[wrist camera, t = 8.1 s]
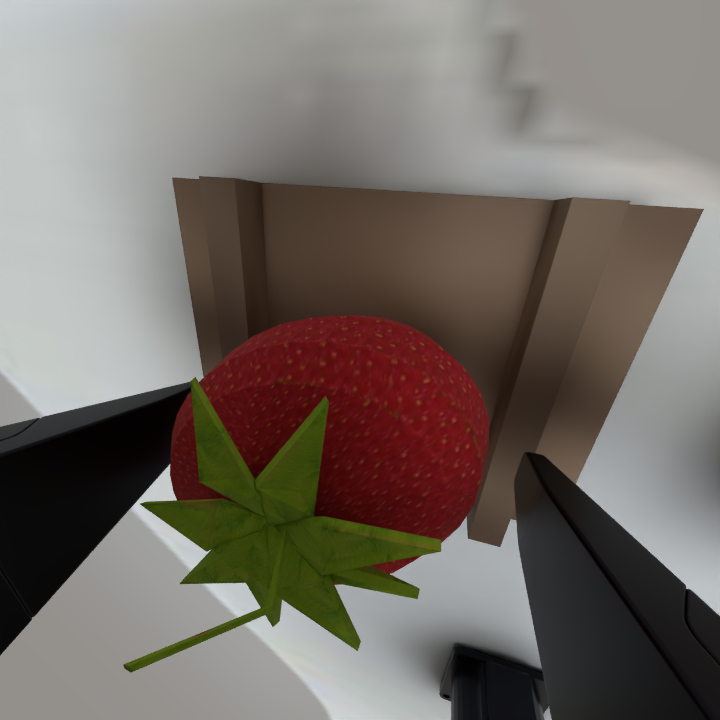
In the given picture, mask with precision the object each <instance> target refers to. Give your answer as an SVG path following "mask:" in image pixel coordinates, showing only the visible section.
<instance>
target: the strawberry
mask: <svg viewBox="0 0 720 720" xmlns="http://www.w3.org/2000/svg"><path fill="white" fill-rule="evenodd" d="M190 382H191V392H190V393H189V394H188V396H187V397H186V399H185V401H184V403H183V404H182V406H181V408H180V410H179V411H178V413H177V417H176V420H175V424H174V428H173V431H172V442H171V463H170V476H171V481H172V486H173V491H174V494H175V496H176V498H177V501H155V502H144V503H141V504H140V505H142V506H143V507H145V508H146V509H147V510H149V511H150V512H152V513H153V514H155V515H156V516H157V517H159V518H160V519H162V520H163V521H164V522H166V523H167V524H169V525H170V526H171V527H173V528H174V529H176V530H177V531H178V532H180V533H181V534H183V535H184V536H185V537H187V538H188V539H190V540H191V541H192V542H194V543H195V544H197V545H198V546H199V547H201V548H202V549H204V550H205V551H206V552H207V551H209V550H211V549H212V550H211V551H210V552H209V553H208V554H207V555H206V556H205V557H204V558H203V559H202V560H201V561H200V562H199V564H198V565H197V566H196V567H195V568H194V569H193V570H192V571H191V572H190V573H189V574H188V575H187V576H186V577H185V578H184V579H183V581H182V582H181V583H180V584H203V583H246V584H247V585H248V587H249V589H250V590H251V592H252V594H253V595H254V597H255V599H256V600H257V602H258V603H259V605H260V607H261V609H258V610H256V611H253V612H251V613H248V614H246V615H243V616H241V617H239V618H236V619H234V620H231V621H229V622H226V623H224V624H221V625H219V626H217V627H214V628H212V629H209V630H207V631H204V632H202V633H200V634H197V635H195V636H192V637H190V638H188V639H185V640H183V641H180V642H178V643H175V644H173V645H170V646H168V647H165V648H163V649H161V650H158V651H156V652H153V653H151V654H148V655H146V656H143V657H141V658H139V659H136V660H134V661H131V662H129V663H126V664H124V668H125V669H126V670H128V671H129V672H133V671H136V670H138V669H140V668H143V667H145V666H147V665H150V664H152V663H154V662H156V661H159V660H161V659H163V658H166V657H168V656H171V655H173V654H175V653H178V652H180V651H182V650H184V649H187V648H189V647H192V646H194V645H196V644H198V643H201V642H203V641H205V640H208V639H210V638H212V637H215V636H217V635H219V634H222V633H224V632H226V631H229V630H231V629H233V628H236V627H238V626H240V625H243V624H245V623H247V622H250V621H252V620H254V619H257V618H259V617H261V616H264V615H266V617H267V618H268V620H269V622H270V623H271V625H272V627H274V626H275V625H276V624H277V623H278V622H279V621H280V612H281V603H282V600H284V601H285V602H287V603H288V604H290V605H291V606H293V607H294V608H296V609H297V610H299V611H300V612H301V613H303V614H304V615H306V616H307V617H309V618H310V619H312V620H313V621H315V622H316V623H317V624H319V625H320V626H322V627H323V628H325V629H326V630H328V631H329V632H331V633H332V634H334V635H335V636H336V637H338V638H339V639H341V640H342V641H344V642H345V643H347V644H348V645H350V646H351V647H353V648H354V649H355V650H357V651H358V648H359V645H360V642H361V641H360V639H359V636H358V634H357V632H356V630H355V628H354V626H353V624H352V622H351V619H350V617H349V615H348V613H347V611H346V609H345V607H344V605H343V602H342V600H341V598H340V596H339V594H338V592H337V590H336V588H335V586H334V585H338V584H344V585H349V586H354V587H359V588H364V589H369V590H375V591H380V592H385V593H390V594H395V595H400V596H405V597H410V598H416V599H418V594H419V588H417V587H415V586H413V585H411V584H409V583H406V582H404V581H402V580H400V579H398V578H396V577H394V576H392V575H390V573H393V572H395V571H397V570H399V569H400V568H402V567H404V566H406V565H407V564H409V563H411V562H413V561H414V560H416V559H417V558H419V557H420V556H422V555H425V554H430V553H436V552H441V543H442V542H443V541H444V540H445V539H446V538H447V537H448V536H450V535H451V534H452V533H453V532H454V531H455V530H456V529H457V528H458V527H459V526H460V525H461V523H462V522H463V520H464V519H465V517H466V516H467V515H468V513H469V512H470V510H471V509H472V507H473V505H474V502H475V499H476V496H477V492H478V489H479V486H480V483H481V479H482V474H483V470H484V465H485V461H486V456H487V452H488V447H489V417H488V414H487V411H486V407H485V404H484V401H483V397H482V394H481V392H480V391H479V389H478V388H477V386H476V384H475V383H474V381H473V380H472V378H471V377H470V375H469V374H468V372H467V371H466V369H465V368H464V367H463V366H462V365H461V364H459V363H458V362H457V361H456V360H455V359H454V358H453V357H452V356H451V355H450V354H449V353H447V352H446V351H445V350H444V349H443V348H442V347H441V346H440V345H439V344H437V343H436V342H435V341H434V340H433V339H432V338H431V337H429V336H428V335H426V334H424V333H422V332H420V331H419V330H417V329H415V328H413V327H412V326H410V325H407V324H403V323H400V322H397V321H394V320H391V319H388V318H381V317H372V316H364V315H343V316H327V317H312V318H307V319H302V320H298V321H293V322H288V323H283V324H280V325H278V326H275V327H273V328H271V329H268V330H266V331H264V332H261V333H259V334H257V335H255V336H253V337H252V338H250V339H249V340H247V341H246V342H244V343H243V344H241V345H240V346H239V347H237V348H236V349H234V350H233V351H232V352H231V353H229V354H228V355H227V356H226V357H225V358H224V359H223V360H222V361H221V362H220V363H219V364H218V365H217V366H216V367H214V368H213V369H212V370H211V371H210V372H209V373H208V374H207V375H206V376H205V377H204V378H203V379H202V380H201V381H200V382H198V381H197V379H196V377H195V378H194V379H193V380H192V381H190Z"/></svg>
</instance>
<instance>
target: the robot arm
mask: <svg viewBox="0 0 720 720" xmlns="http://www.w3.org/2000/svg"><path fill="white" fill-rule="evenodd" d="M190 392H191V382H187V383H183V384H179V385H175V386H171V387H166V388H162V389H158V390H154V391H150V392H145V393H141V394H137V395H133V396H129V397H124V398H120V399H116V400H112V401H108V402H103V403H99V404H95V405H91V406H87V407H82V408H78V409H74V410H70V411H66V412H61V413H57V414H53V415H49V416H45V417H42V418H36V419H32V420H28V421H23V422H19V423H15V424H11V425H6V426H2V427H0V655H1V654H2V653H3V651H5V649H6V648H7V647H8V646H9V645H10V644H11V643H12V642H13V640H14V639H15V638H16V637H17V636H18V635H19V633H21V631H22V630H23V629H24V628H25V627H26V626H27V625H28V624H29V622H30V621H31V620H32V617H34V616H35V615H36V614H37V613H38V612H39V611H40V609H41V608H42V607H43V606H44V605H45V604H46V603H47V602H48V601H49V599H50V598H51V597H52V596H53V595H54V594H55V593H56V591H57V590H58V589H59V588H60V587H61V586H62V585H63V584H64V582H65V581H66V580H67V579H68V578H69V577H70V576H71V575H72V574H73V572H74V571H75V570H76V569H77V568H78V567H79V565H80V564H81V563H82V562H83V561H84V560H85V559H86V558H87V557H88V556H89V554H90V553H91V552H92V551H93V550H94V549H95V548H96V547H97V545H98V544H99V543H100V542H101V541H102V540H103V539H104V538H105V536H106V535H107V534H108V533H109V532H110V531H111V530H112V529H113V527H114V526H115V525H116V524H117V523H118V521H120V519H121V518H122V517H123V516H124V515H125V514H126V513H127V512H128V511H129V509H130V508H131V507H132V506H133V505H134V504H135V503H136V502H137V500H138V499H139V498H140V497H141V496H142V495H143V494H144V493H145V491H146V490H147V489H148V488H149V487H150V486H151V485H152V484H153V482H154V481H155V480H156V479H157V478H158V477H159V476H160V475H161V473H162V472H163V471H164V470H165V469H166V468H167V467H168V466H169V464H170V463H171V442H172V431H173V428H174V424H175V420H176V417H177V413H178V411H179V410H180V408H181V406H182V404H183V403H184V401H185V399H186V397H187V396H188V394H189V393H190ZM514 494H515V507H516V521H517V535H518V545H519V552H520V557H521V563H522V568H523V573H524V578H525V583H526V589H527V594H528V599H529V604H530V609H531V615H532V620H533V625H534V630H535V635H536V640H537V646H538V651H539V656H540V661H541V666H542V672H543V674H542V673H539V672H536V671H533V670H530V669H527V668H524V667H521V666H518V665H515V664H512V663H509V662H506V661H503V660H500V659H497V658H494V657H491V656H488V655H485V654H482V653H479V652H476V651H473V650H470V649H467V648H464V647H460V646H456V647H454V648H453V651H452V654H451V657H450V659H449V662H448V665H447V668H446V671H445V674H444V676H443V679H442V682H441V685H440V696H441V697H442V698H443V699H446V700H448V701H451V720H544V716H543V714H544V712H545V711H546V709H547V708H548V706H549V708H550V713H551V718H552V720H720V616H719V615H718V614H717V613H716V612H715V611H713V610H712V609H711V608H710V607H709V606H708V605H707V604H706V603H705V602H704V601H703V600H701V599H700V598H699V597H698V596H697V595H696V594H695V593H694V592H693V591H692V590H690V589H686V585H685V584H684V583H683V582H682V581H681V580H680V579H678V578H677V577H676V576H675V575H674V574H673V573H672V572H671V571H670V570H669V569H668V568H666V567H665V566H664V565H663V564H662V563H661V562H660V561H659V560H658V559H657V558H656V557H654V556H653V555H652V554H651V553H650V552H649V551H648V550H647V549H646V548H645V547H644V546H642V545H641V544H640V543H639V542H638V541H637V540H636V539H635V538H634V537H633V536H632V535H630V534H629V533H628V532H627V531H626V530H625V529H624V528H623V527H622V526H621V525H620V524H618V523H617V522H616V521H615V520H614V519H613V518H612V517H611V516H610V515H609V514H608V513H606V512H605V511H604V510H603V509H602V508H601V507H600V506H599V505H598V504H597V503H596V502H594V501H593V500H592V499H591V498H590V497H589V496H588V495H587V494H586V493H585V492H584V491H582V490H581V489H580V488H579V487H578V486H577V485H576V484H575V483H574V482H573V481H572V480H570V479H569V478H568V477H567V476H566V475H565V474H564V473H563V472H562V471H561V470H560V469H558V468H557V467H556V466H555V465H554V464H553V463H552V462H551V461H550V460H549V459H548V458H546V457H545V456H544V455H542V454H537V453H532V452H525V453H524V454H523V456H522V458H521V461H520V464H519V467H518V469H517V472H516V475H515V479H514Z"/></svg>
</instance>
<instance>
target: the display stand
mask: <svg viewBox="0 0 720 720" xmlns="http://www.w3.org/2000/svg"><path fill="white" fill-rule="evenodd" d="M172 179H173V186H174V192H175V198H176V205H177V211H178V217H179V224H180V230H181V236H182V243H183V249H184V255H185V262H186V268H187V274H188V281H189V287H190V293H191V300H192V306H193V312H194V319H195V325H196V332H197V338H198V344H199V351H200V357H201V363H202V370H203V376H204V377H205V376H206V375H207V374H208V373H209V372H210V371H211V370H212V369H213V368H214V367H216V366H217V365H218V364H219V363H220V362H221V361H222V360H223V359H224V358H225V357H226V356H227V355H228V354H229V353H231V352H232V351H233V350H234V349H236V348H237V347H239V346H240V345H241V344H243V343H244V342H246V341H247V340H249V339H250V338H252V337H253V336H255V335H257V334H259V333H261V332H264V331H266V330H268V329H271V328H273V327H275V326H278V325H280V324H283V323H288V322H293V321H298V320H302V319H307V318H312V317H327V316H343V315H364V316H372V317H381V318H388V319H391V320H394V321H397V322H400V323H403V324H407V325H410V326H412V327H413V328H415V329H417V330H419V331H420V332H422V333H424V334H426V335H428V336H429V337H431V338H432V339H433V340H434V341H435V342H436V343H437V344H439V345H440V346H441V347H442V348H443V349H444V350H445V351H446V352H447V353H449V354H450V355H451V356H452V357H453V358H454V359H455V360H456V361H457V362H458V363H459V364H461V365H462V366H463V367H464V368H465V369H466V371H467V372H468V374H469V375H470V377H471V378H472V380H473V381H474V383H475V384H476V386H477V388H478V389H479V391H480V392H481V394H482V397H483V401H484V404H485V407H486V411H487V414H488V417H489V447H488V452H487V456H486V461H485V465H484V470H483V474H482V479H481V483H480V486H479V489H478V492H477V496H476V499H475V502H474V505H473V507H472V509H471V510H470V512H469V513H468V515H467V530H468V539H472V540H476V541H480V542H483V543H487V544H491V545H495V546H498V547H500V546H501V543H502V540H503V538H504V535H505V532H506V530H507V527H508V524H509V522H510V519H513V520H516V507H515V494H514V479H515V475H516V472H517V469H518V467H519V464H520V461H521V458H522V456H523V454H524V453H525V452H532V453H537V454H542V455H544V456H545V457H546V458H548V459H549V460H550V461H551V462H552V463H553V464H554V465H555V466H556V467H557V468H558V469H560V470H561V471H562V472H563V473H564V474H565V475H566V476H567V477H568V478H569V479H570V480H572V481H573V482H574V483H575V484H576V482H577V479H578V477H579V475H580V473H581V471H582V469H583V467H584V464H585V462H586V460H587V458H588V456H589V454H590V452H591V449H592V447H593V445H594V443H595V441H596V439H597V437H598V434H599V432H600V430H601V428H602V426H603V424H604V422H605V419H606V417H607V415H608V413H609V411H610V409H611V407H612V404H613V402H614V400H615V398H616V396H617V394H618V392H619V389H620V387H621V385H622V383H623V381H624V379H625V377H626V374H627V372H628V370H629V368H630V366H631V364H632V362H633V359H634V357H635V355H636V353H637V351H638V349H639V347H640V344H641V342H642V340H643V338H644V336H645V334H646V332H647V329H648V327H649V325H650V323H651V321H652V319H653V317H654V314H655V312H656V310H657V308H658V306H659V304H660V302H661V300H662V297H663V295H664V293H665V291H666V289H667V287H668V285H669V282H670V280H671V278H672V276H673V274H674V272H675V270H676V267H677V265H678V263H679V261H680V259H681V257H682V255H683V252H684V250H685V248H686V246H687V244H688V242H689V240H690V237H691V235H692V233H693V231H694V229H695V227H696V225H697V222H698V220H699V218H700V216H701V214H702V212H703V210H704V209H694V208H677V207H660V206H643V205H629V203H630V201H623V200H606V199H588V198H567V199H560V200H542V199H525V198H508V197H491V196H474V195H457V194H440V193H423V192H406V191H390V190H373V189H356V188H339V187H322V186H305V185H288V184H271V183H259V182H253V181H247V180H241V179H236V178H220V177H202V176H199V179H186V178H172Z"/></svg>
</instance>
